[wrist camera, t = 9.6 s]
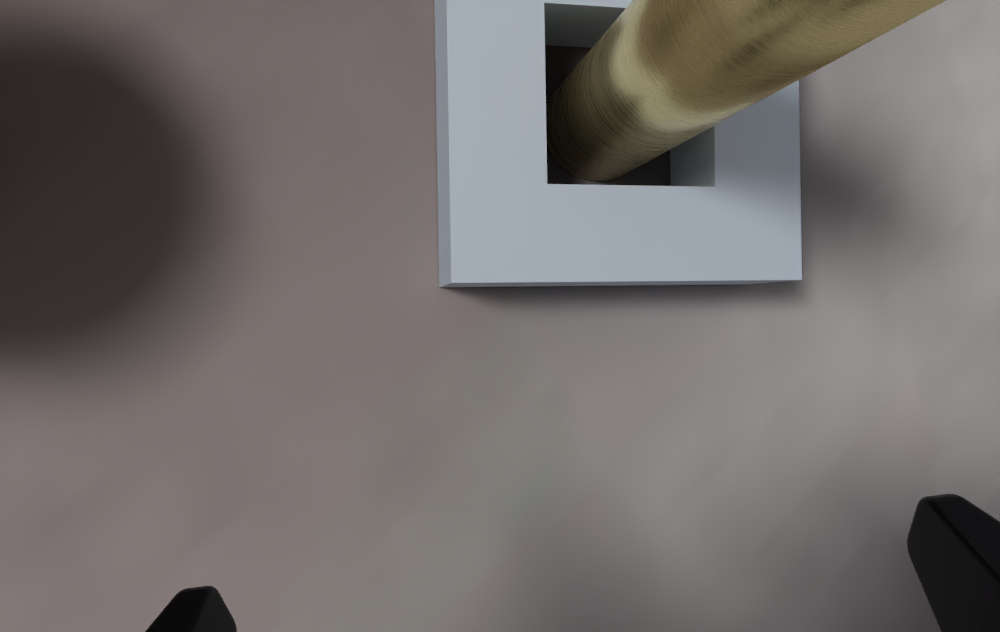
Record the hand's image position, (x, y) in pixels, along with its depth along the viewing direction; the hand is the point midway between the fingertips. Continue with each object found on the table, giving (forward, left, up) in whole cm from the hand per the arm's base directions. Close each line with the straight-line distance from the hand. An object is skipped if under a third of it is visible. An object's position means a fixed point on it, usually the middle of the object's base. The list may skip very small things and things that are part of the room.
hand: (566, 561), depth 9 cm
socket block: (+9, -5, -13) cm, 16 cm away
